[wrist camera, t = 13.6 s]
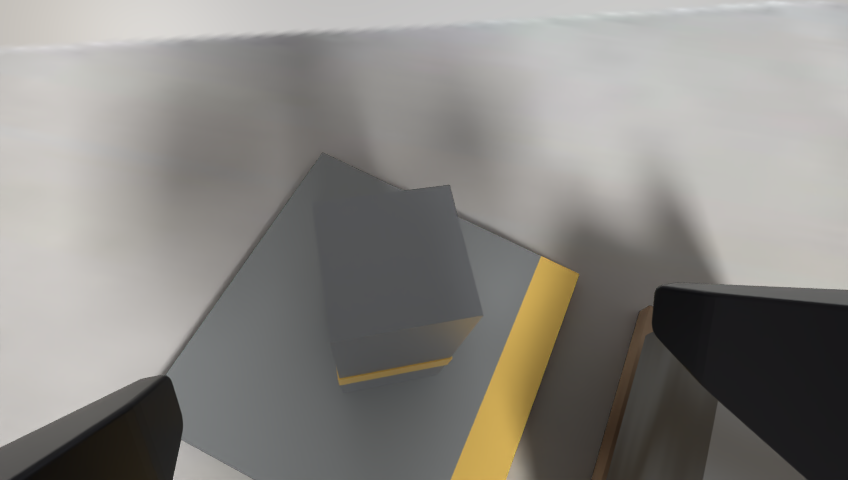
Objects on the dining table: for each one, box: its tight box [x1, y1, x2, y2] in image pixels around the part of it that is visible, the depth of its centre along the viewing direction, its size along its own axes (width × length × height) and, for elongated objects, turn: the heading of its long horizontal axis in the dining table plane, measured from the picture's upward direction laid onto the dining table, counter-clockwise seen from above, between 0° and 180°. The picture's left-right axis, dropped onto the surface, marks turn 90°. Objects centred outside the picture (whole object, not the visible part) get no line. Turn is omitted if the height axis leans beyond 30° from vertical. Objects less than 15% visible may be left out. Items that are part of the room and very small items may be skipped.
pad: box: [166, 153, 579, 480], centre depth 22 cm, size 14×14×1 cm
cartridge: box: [312, 185, 483, 393], centre depth 18 cm, size 4×4×9 cm
